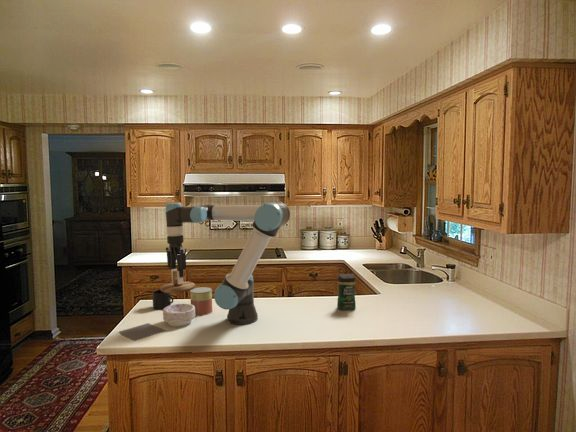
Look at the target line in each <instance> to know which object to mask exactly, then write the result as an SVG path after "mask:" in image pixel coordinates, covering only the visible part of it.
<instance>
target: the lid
mask: <svg viewBox="0 0 576 432" xmlns="http://www.w3.org/2000/svg"><path fill="white" fill-rule="evenodd" d="M177 270H178V269H177ZM177 270H176V271H173V283H172V282H169V283H168V282H166V283H165V284H162V285H161V286H160V290H161V291H162V292H165V293H170V294H178V293H185V292H190V290H192V289H194V288H196V284H195V282H192V281H183V283H182V284H178V279H177Z"/></svg>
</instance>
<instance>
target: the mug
mask: <svg viewBox="0 0 576 432" xmlns="http://www.w3.org/2000/svg"><path fill="white" fill-rule="evenodd" d="M151 294H152V295H151V296H152V309H154V310H156V311H163V309H164V308H165V307H167V306H170V305H172V304H174V297H173V296H172V295H171V293H165V292H162V291H161V289H157V290H154V291H152V293H151Z"/></svg>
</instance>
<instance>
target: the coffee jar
mask: <svg viewBox="0 0 576 432" xmlns="http://www.w3.org/2000/svg"><path fill="white" fill-rule="evenodd" d="M336 282H337V284H338V293H337V294H338V295H337V304H336V307H337V308H338V310H342V311H349V310H352V311H353V310H355V309H356V308H357V307H356V294H355V285H356V283H357V282H356V276H355V274H353V273H343V274H342V273H341V274H338V276H337V281H336Z"/></svg>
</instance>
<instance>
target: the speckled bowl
mask: <svg viewBox="0 0 576 432" xmlns="http://www.w3.org/2000/svg"><path fill="white" fill-rule="evenodd" d="M195 318H196V315H195V306H194V305H191V303H175V304H174V303H173V304H171V305H170V306H167V307H165V308H164V309H163V310H162V319H163V322H165V323H167V324H168V325H169V326H171V327H183V326H186V325H187V326H188V325H189V324H190V323H191V322H192V320H193V319H195Z"/></svg>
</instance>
